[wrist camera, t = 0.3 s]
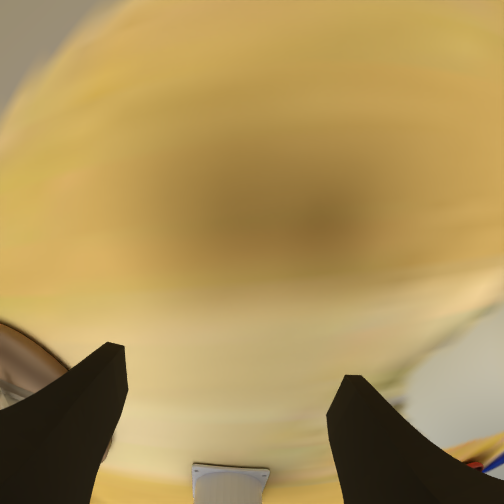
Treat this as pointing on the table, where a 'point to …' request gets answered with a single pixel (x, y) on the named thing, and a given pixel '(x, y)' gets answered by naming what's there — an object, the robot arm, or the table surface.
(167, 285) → the table surface
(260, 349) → the table surface
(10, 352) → the turntable
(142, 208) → the table surface
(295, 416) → the table surface
